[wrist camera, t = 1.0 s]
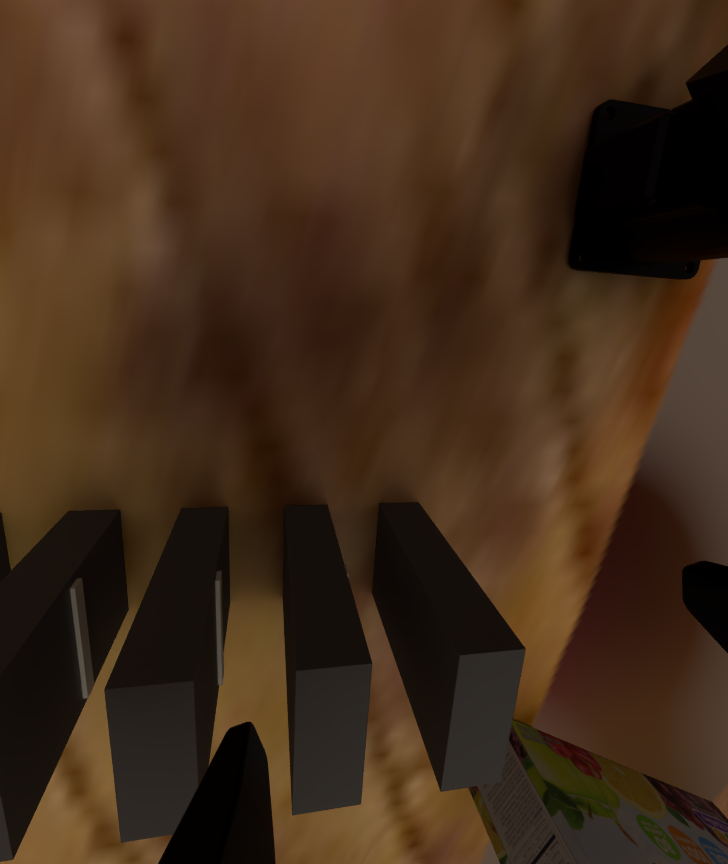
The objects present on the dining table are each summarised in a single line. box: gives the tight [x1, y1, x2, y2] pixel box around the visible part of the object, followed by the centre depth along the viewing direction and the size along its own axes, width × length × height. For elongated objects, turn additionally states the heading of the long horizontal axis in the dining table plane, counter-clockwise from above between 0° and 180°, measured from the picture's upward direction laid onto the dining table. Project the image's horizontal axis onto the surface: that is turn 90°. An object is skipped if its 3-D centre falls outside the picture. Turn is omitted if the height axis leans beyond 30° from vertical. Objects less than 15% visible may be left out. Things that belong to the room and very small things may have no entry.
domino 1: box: [0, 510, 129, 862], centre depth 16 cm, size 2×5×10 cm, turn 176°
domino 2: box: [104, 507, 230, 843], centre depth 16 cm, size 2×5×10 cm, turn 176°
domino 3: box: [283, 505, 372, 815], centre depth 17 cm, size 2×5×10 cm, turn 176°
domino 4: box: [372, 503, 526, 792], centre depth 18 cm, size 2×5×10 cm, turn 176°
